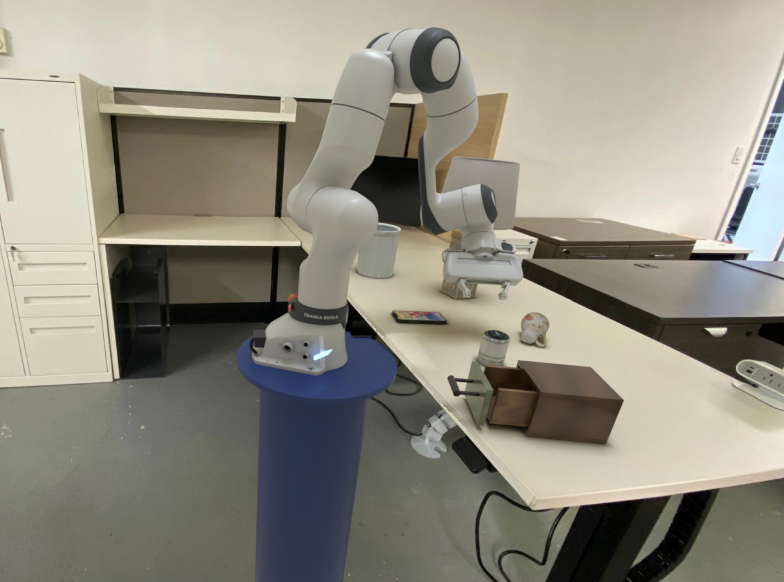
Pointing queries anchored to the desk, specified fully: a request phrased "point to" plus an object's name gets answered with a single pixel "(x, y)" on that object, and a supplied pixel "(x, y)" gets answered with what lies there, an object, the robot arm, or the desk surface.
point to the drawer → (497, 394)
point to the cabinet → (570, 403)
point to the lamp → (505, 188)
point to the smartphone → (419, 317)
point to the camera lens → (493, 348)
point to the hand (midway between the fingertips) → (485, 298)
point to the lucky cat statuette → (534, 328)
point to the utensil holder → (379, 252)
